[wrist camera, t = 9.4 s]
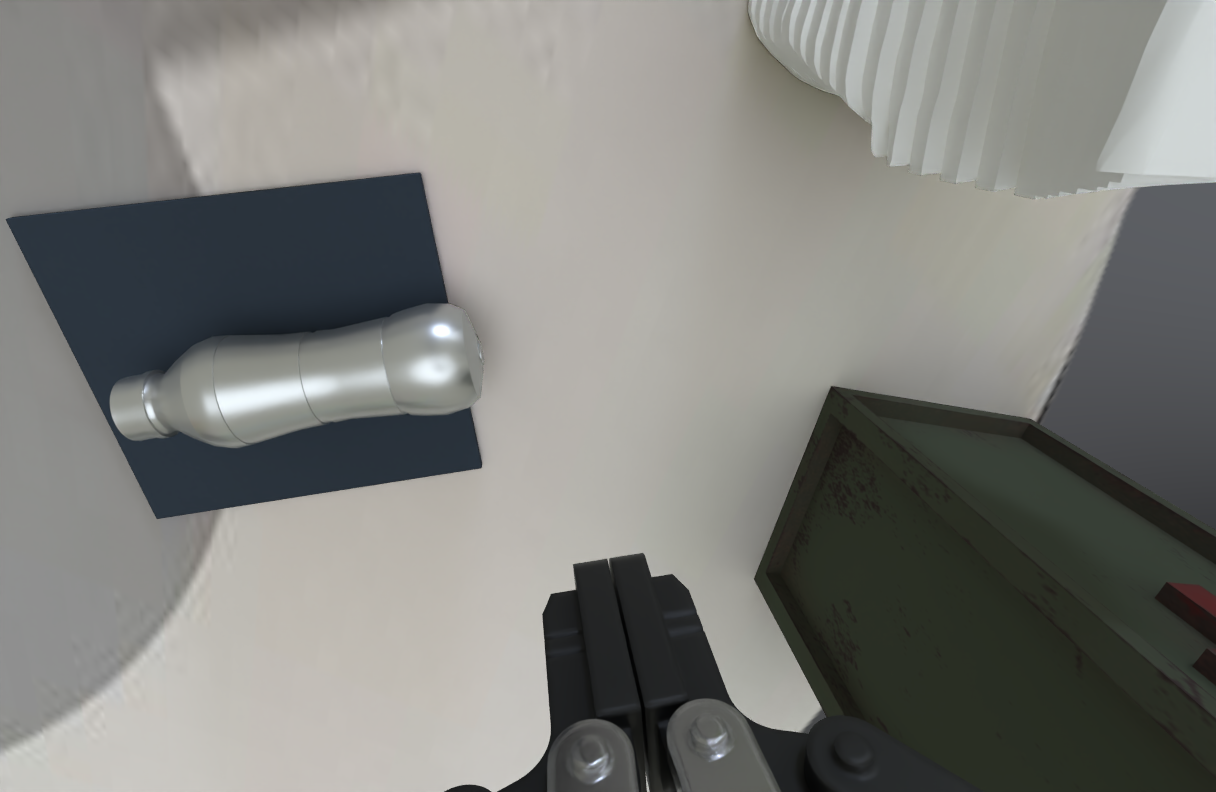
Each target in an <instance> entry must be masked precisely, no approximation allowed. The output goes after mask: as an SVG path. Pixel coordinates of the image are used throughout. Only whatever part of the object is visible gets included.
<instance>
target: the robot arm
mask: <svg viewBox="0 0 1216 792" xmlns="http://www.w3.org/2000/svg"><path fill="white" fill-rule="evenodd" d="M609 565H610V569H609ZM573 569H574V577H575V585H576V590H572V591H566V592H560V593H554V594H551V596H550V598H549V600H548V603H547V605H546V607H545V610H544V612H543V628H544V639H545V654H546V668H547V681H548V694H549V707H550V720H551V736H550V741H549V744H548V747H547V750H546V752H545V754H544V756H543V757H542V759H541V760H540V761H539V763H538V764H537V765H536V766H535V767H534V768H533V769H532V770H531V771H530V772H529V773H528V774H527V775H525V776H524V777H522V778H521V779H519V780H518V781H516V782H514V783H512V784H510V785H509V786H507V787H505V788H503V789H501V790H499V791H498V792H647V788H646V776H647V781H648V786H649V791H650V792H984V791H982V790H981V789H979V788H977V787H976V786H974V785H972V784H971V783H969V782H967V781H966V780H964V779H962V778H961V777H959V776H957V775H956V774H954V773H952V772H950V771H949V770H947V769H945V768H944V767H942V766H940V765H939V764H937V763H935V762H934V761H932V760H930V759H929V758H927V757H925V756H924V755H922V754H920V753H919V752H917V751H915V750H914V749H912V748H910V747H909V746H907V745H905V744H904V743H902V742H900V741H899V740H897V739H895V738H893V737H892V736H890V735H888V734H887V733H885V732H883V731H882V730H880V729H878V728H877V727H875V726H873V725H872V724H870V723H868V722H866V721H864V720H861V719H859V718H856V717H851V716H844V715H837V716H830V717H826V718H824V719H822V720H820V721H819V722H818V723H816V724H815V725H814V726H813V728H812V729H811V730H810V732H809V734H806V733H798V732H790V731H783V730H776V729H771V728H767V727H764V726H762V725H759V724H757V723H755V722H753V721H752V720H750V719H749V718H747V717H746V716H745V715H743V714H742V713H741V712H740V711H739V710H738V709H737V708H736V707H735V705H734V704H733V702H732V701H731V699H730V697H729V695H728V693H727V690H726V688H725V685H724V682H723V680H722V677H721V674H720V672H719V669H718V666H717V664H716V661H715V658H714V656H713V653H712V651H711V648H710V645H709V643H708V640H707V637H706V635H705V632H704V631H703V627H702V624H701V621H700V619H699V616H698V615H697V612H696V608H695V606H694V603H693V600H692V598H691V595H690V592H689V590H688V589H687V588H686V587H685V586H684V585H683V584H682V583H681V582H680V581H679V580H678V579H677V578H676V577H675V576H674V575H673V574H670V575H664V576H657V577H651V574H650V571H649V568H648V564H647V561H646V558H645V555H644V554H643V553H640V554H634V555H627V556H621V557H615V558H610V559H609V564H608V561H607V559H603V560H597V561H590V562H584V563H578V564H573ZM645 772H646V774H645ZM445 792H491V791H490V790H488V789H486V788H484V787H482V786H477V785H461V786H457V787H454V788H451V789H449V790H447V791H445Z"/></svg>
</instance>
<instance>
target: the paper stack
mask: <svg viewBox="0 0 1216 792" xmlns="http://www.w3.org/2000/svg"><path fill="white" fill-rule="evenodd" d="M748 13H749V16H750V19H751V22H752V25H753V27H754V30H755V32H756V35H757V37H758V38H759V39H760V41H761V42H762V43H763V44H764V46H765V47H766V48H767V50H768V51H769V52H770V53H771V54H772V55H773V56H774V57H775V58H776V59H777V60H778V61H779V62H780V63H781V64H782V65H783V66H785V67H786V68H787V69H788V70H789V71H790V72H791V73H792V74H793V75H794V76H795V77H797V78H798V79H799V80H801V81H803V82H805V83H807V84H809V85H811V86H813V87H815V88H817V89H820V90H822V91H825V92H828V93H831V94H834V95H838V96H840V97H841V98H842V99H843V101H844V102H845V103H846V104H847V105H848V106H849V107H850V108H851V109H853V110H854V111H855V112H856V113H857V114H858V115H859V116H860V117H861V118H862V119H864V120H865V121H866V122H868V123H869V124H870V125H871V126H872V142H871V151H872V153H873V154H874V157H887V166H889V167H891V166H903V165H910V167H909V171H908V172H909V173H913V174H917V175H928V174H936V173H941V176H940V180H941V181H945V182H949V183H954V184H958V183H964V182H970V181H976V180H977V181H976V187H975V188H978V189H983V190H987V191H992V192H995V191H1000V190H1005V189H1010V188H1015V187H1016V188H1015V193H1014V195H1017V196H1021V197H1026V198H1030V199H1039V198H1047V199H1048V198H1053V197H1059V196H1065V195H1071V194H1081V193H1089V192H1096V191H1104V190H1113V189H1124V188H1135V187H1145V186H1157V185H1173V184H1192V183H1211V182H1216V0H749V4H748Z"/></svg>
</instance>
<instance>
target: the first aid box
mask: <svg viewBox="0 0 1216 792" xmlns="http://www.w3.org/2000/svg"><path fill="white" fill-rule="evenodd" d="M754 580H755V582H756V584H757V585H758V587H759V589H760V591H761V593H762V595H763V597H764V599H765V601H766V603H767V604H768V606H769V608H770V610H771V612H772V614H773V616H774V618H775V620H776V622H777V623H778V625H779V627H780V629H781V631H782V633H783V635H784V637H785V639H786V641H787V642H788V644H789V646H790V648H791V650H792V652H793V654H794V656H795V658H796V660H797V661H798V663H799V665H800V667H801V669H802V671H803V673H804V675H805V677H806V679H807V680H808V682H809V684H810V686H811V688H812V690H813V692H814V694H815V696H816V698H817V699H818V701H819V703H820V705H821V707H822V709H823V711H824V713H825V715H826V717H830V716H837V715H844V716H851V717H856V718H859V719H861V720H864V721H866V722H868V723H870V724H872V725H873V726H875V727H877V728H878V729H880V730H882V731H883V732H885V733H887V734H888V735H890V736H892V737H893V738H895V739H897V740H899V741H900V742H902V743H904V744H905V745H907V746H909V747H910V748H912V749H914V750H915V751H917V752H919V753H920V754H922V755H924V756H925V757H927V758H929V759H930V760H932V761H934V762H935V763H937V764H939V765H940V766H942V767H944V768H945V769H947V770H949V771H950V772H952V773H954V774H956V775H957V776H959V777H961V778H962V779H964V780H966V781H967V782H969V783H971V784H972V785H974V786H976V787H977V788H979V789H981V790H982V791H984V792H1216V530H1215V529H1213V528H1211V527H1210V526H1208V525H1206V524H1205V523H1203V522H1201V521H1200V520H1198V519H1196V518H1195V517H1193V516H1191V515H1190V514H1188V513H1186V512H1185V511H1183V510H1181V509H1180V508H1178V507H1176V506H1175V505H1173V504H1171V503H1170V502H1168V501H1166V500H1165V499H1163V498H1161V497H1160V496H1158V495H1156V494H1155V493H1153V492H1151V491H1150V490H1148V489H1146V488H1144V487H1143V486H1141V485H1140V484H1138V483H1136V482H1135V481H1133V480H1131V479H1130V478H1128V477H1126V476H1125V475H1123V474H1121V473H1120V472H1118V471H1116V470H1115V469H1113V468H1111V467H1110V466H1108V465H1106V464H1105V463H1103V462H1101V461H1100V460H1098V459H1096V458H1095V457H1093V456H1091V455H1090V454H1088V453H1086V452H1085V451H1083V450H1081V449H1080V448H1078V447H1076V446H1075V445H1073V444H1071V443H1070V442H1068V441H1066V440H1065V439H1063V438H1061V437H1059V436H1058V435H1056V434H1055V433H1053V432H1051V431H1050V430H1048V429H1046V428H1045V427H1043V426H1041V425H1040V424H1038V423H1036V422H1035V421H1033V420H1031V419H1028V418H1022V417H1016V416H1009V415H1003V414H997V413H991V412H985V411H979V410H973V409H967V408H960V407H954V406H948V405H942V404H936V403H930V402H924V401H918V400H912V399H906V398H900V397H894V396H887V395H881V394H875V393H869V392H863V391H857V390H851V389H845V388H839V387H833V386H831V388H830V391H829V393H828V396H827V398H826V401H825V403H824V406H823V408H822V411H821V413H820V416H819V418H818V421H817V423H816V426H815V428H814V431H813V433H812V436H811V438H810V441H809V443H808V446H807V448H806V451H805V453H804V456H803V458H802V461H801V463H800V466H799V468H798V471H797V473H796V476H795V478H794V481H793V483H792V486H791V488H790V491H789V493H788V496H787V498H786V501H785V503H784V506H783V508H782V511H781V513H780V516H779V518H778V521H777V523H776V526H775V528H774V531H773V533H772V536H771V538H770V541H769V543H768V546H767V548H766V551H765V553H764V556H763V558H762V561H761V563H760V566H759V568H758V571H757V573H756V576H755V578H754Z"/></svg>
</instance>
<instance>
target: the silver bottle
mask: <svg viewBox="0 0 1216 792" xmlns="http://www.w3.org/2000/svg"><path fill="white" fill-rule="evenodd" d="M483 365H484V356H483V350H482V346H481V342H480V340H479V339H478V336H477V334H476V332H475V330H474V328H473V326H472V324H471V322H470V320H469V318H468V316H467V314H466V312H465V310H464V309H461V308H459V307H457V306H454V305H452V304H442V303H426V304H422V305H419V306H415V307H411V308H408V309H404V310H402V311H399V312H396V313H394V314H392V315H391V316H390V317H383V318H379V319H375V320H370V321H366V322H362V323H358V324H353V325H349V326H345V327H341V328H336V329H330V330H320V331H316V332H314V333H312V332H300V333H291V334H279V335H225V336H213V337H210V338H208V339H206V340H203V341H201V342H199V343H197V344H195V345H193V346H191V347H190V348H189V349H188V350H187V351H186V352H185V353H184V354H183V355H182V356H180V357H179V358H178V359H177V360H176V361H175V362H174V363H173V365H172V366H171V367H170V368H169V369H168V370H167V372H164V371H161V370H153V371H148V372H145V373H143V374H141V375H136V376H130V377H126V378H123V379H120V380H119V381H117V382H116V383H115V385H114V386H113V388H112V391H111V395H110V410H111V415H112V418H113V421H114V423H115V425H116V427H117V428H118V430H119V431H120V432H121V433H122V434H123V435H124V436H125V437H127V438H128V439H130V440H133V441H143V440H148V439H153V438H162V439H163V438H168V437H173V436H175V435H177V434H178V433H179V431H180V432H182V433H184V434H186V435H188V436H190V437H192V438H194V439H197V440H199V441H202V442H205V443H207V444H210V445H213V446H218V447H227V448H240V447H244V446H249V445H253V444H256V443H259V442H263V441H266V440H269V439H272V438H276V437H279V436H282V435H286V434H289V433H292V432H295V431H299V430H302V429H307V428H312V427H316V426H321V425H326V424H329V423H330V422H340V421H345V420H349V419H358V418H370V417H382V416H394V415H405V414H407V413H409V414H410V415H418V416H433V415H449V414H452V413H455V412H458V411H461V410H464V409H467V408H469V407H470V406H472V405H473V404H474V403H475V402H476V401H477V400H478V399H480V398H481V391H482V380H483Z"/></svg>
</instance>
